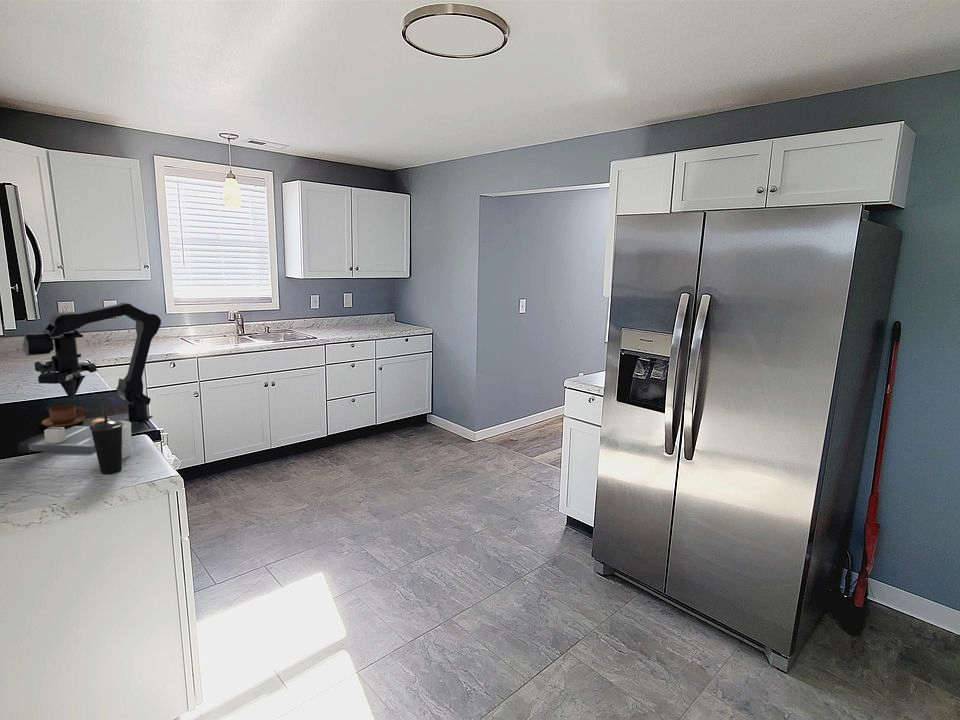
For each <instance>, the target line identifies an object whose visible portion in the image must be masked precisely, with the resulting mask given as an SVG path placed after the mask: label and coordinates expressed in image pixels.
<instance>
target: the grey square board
mask: <svg viewBox="0 0 960 720" xmlns="http://www.w3.org/2000/svg"><path fill="white" fill-rule="evenodd" d="M90 426H91V425H90ZM90 426H89V425H88V426H86V425H85V426H84V425H72V426H70V427H68V428H65V435H66V440H64V441H62V442H60V443H46V442H45V438H44V439H41V440H39V441H37V442H35V443H32V444H31V450H32V452H47V453H49V452H52V453H54V452H55V453H87V454H90V453H91V454H93V453H96V449H95V445H94V440H93V436H92V432H91V430H90Z"/></svg>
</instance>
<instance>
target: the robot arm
mask: <svg viewBox="0 0 960 720" xmlns="http://www.w3.org/2000/svg"><path fill="white" fill-rule="evenodd" d="M122 316H125V317H128V318H129V319H131V320H133V321H134V322H135V333H136V339H135V344H134V346H133V350H132V354H131V358H130V362H129V366H128V370H127V374H126V375H125V376H124V378H118V385H117V386H116V387H115V389H116V390H117V395H118V396H119V397H120V398H121V399H122V400H124V402H125V403H127V413H128V414H127V415H128V418H126V420H125V419H124V421H129V422H131V423H144V422H146V421H148V420H150V419H152V418H153V415H149V409H148V408H149V407H148V405H150V403H151V397H148V396H147V395H146V394H144V382H143V381H144V380H143V376H144V375H143V374H144V371H145V366H146V363H147V359H148V355H149V351H150V347H151V343H152V340H153V338H154V337H155V336H156V335H157V333H158V331H159V329H160V327H161V324H162V319H161V318H160V316H159V315H157V314H154V313H150V312H146V311H143V310H142V309H139V308H137V307H135V306H133V304H131V303H127V302H120V303H117V304H113V305H109V306H104V307H98V308H93V309H89V310H84V311H64V312H57V313H56V312H55V313H53V314H51V316H50V318H49V320H48V321H49V323H48V324H47V326H46V327H45V328H44V330H43V331H42V333H41V332H40V333H24V334H23V340H22V341H23V343H22V348H23V353H24V354H25V356H27V357H29V356H41V355H47V354H51V352H53V350H54V355H52V356H51V360H50V361H44V360H39V361H35V362H34V370H35V371H36V372H37V373H38V372H39V373H40V374H39V375H38V376H37V381H38V384H51V385H52V384H54V385H59V384H60V385H61V387H62V389H63V390H64V391H65V395H67V396H68V399H75V397H76V395H77V393H78V390H79V388H80V386H81V384H82V383H83V380H84V379H85V378H86V375H82V372H89V373H92V374H93V373H95V372H97V371H98V368H97V365H96V364H95V363H94V362H79V358H81V357H82V353H78V348H77V347H78V345H77V338H84V335H83V334H82V333H80V332H79V331H78V330H77V329H80V328H82V327H84V326H85V325H88V324H92V323H96V322H101V321H105V320H109V319H114V318H118V317H122Z"/></svg>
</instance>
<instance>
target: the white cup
mask: <svg viewBox="0 0 960 720" xmlns="http://www.w3.org/2000/svg"><path fill="white" fill-rule="evenodd" d="M119 421H120V422H122V423H123V426H122V460H124V459H126V458H129V457H131V455H132V452H133V451H132V445H133V444H132V422H129V421H125V420H119Z"/></svg>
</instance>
